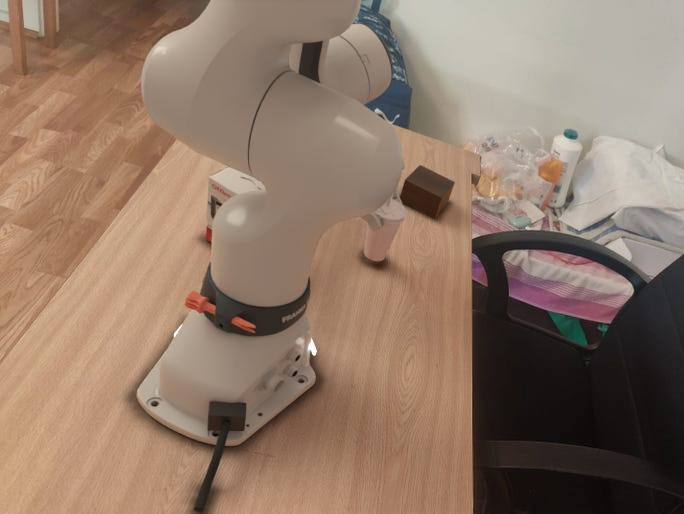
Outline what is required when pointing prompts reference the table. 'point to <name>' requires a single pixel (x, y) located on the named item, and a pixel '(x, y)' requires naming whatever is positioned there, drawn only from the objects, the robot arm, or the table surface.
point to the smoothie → (384, 230)
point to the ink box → (226, 191)
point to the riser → (426, 191)
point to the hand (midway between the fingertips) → (388, 218)
